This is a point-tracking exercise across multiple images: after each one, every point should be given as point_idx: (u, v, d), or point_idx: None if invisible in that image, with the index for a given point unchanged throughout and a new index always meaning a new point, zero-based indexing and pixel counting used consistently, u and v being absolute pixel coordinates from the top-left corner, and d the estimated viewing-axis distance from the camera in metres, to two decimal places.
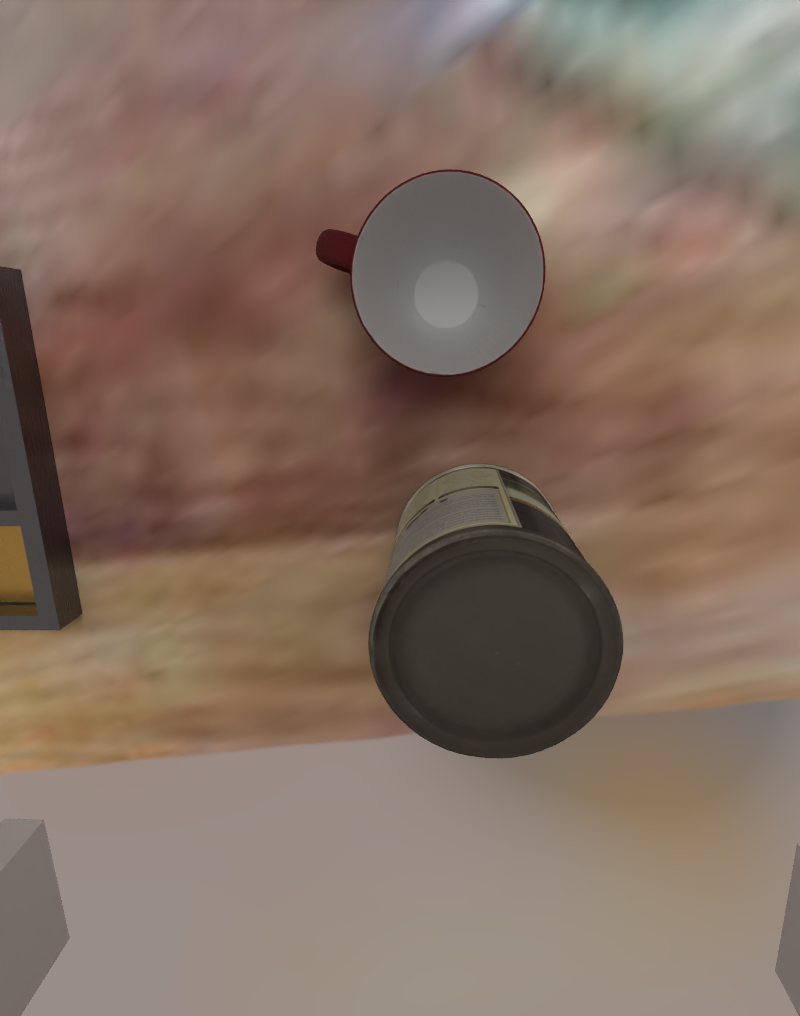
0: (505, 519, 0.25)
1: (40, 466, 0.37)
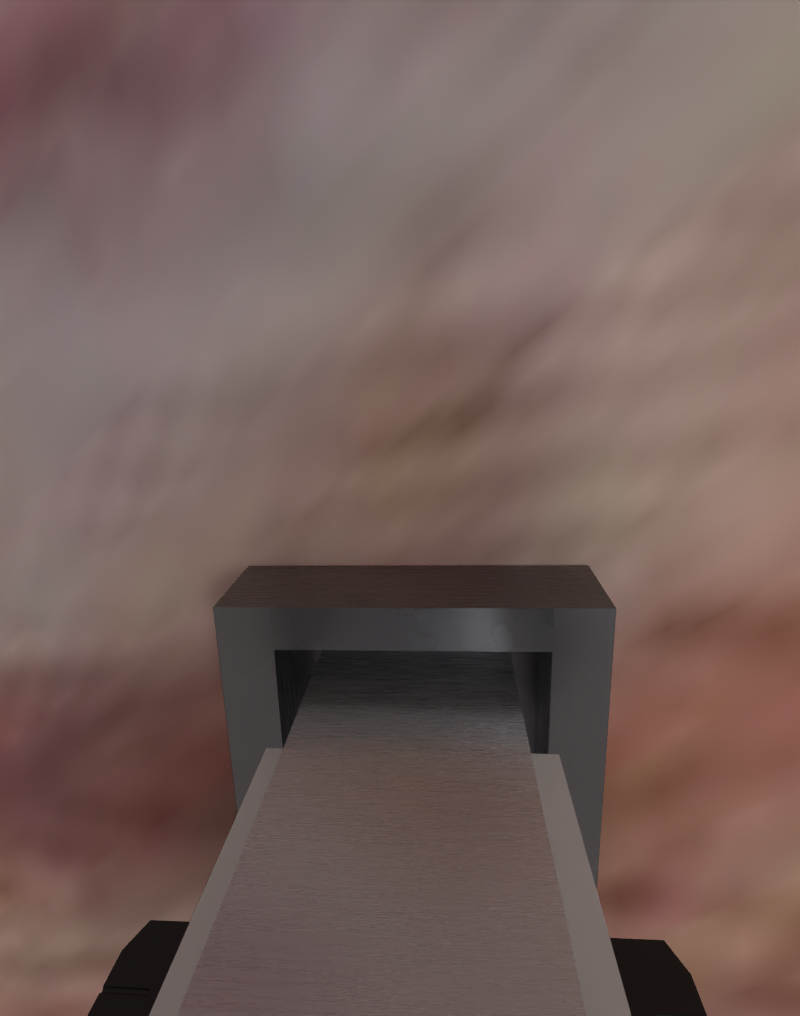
0: None
1: None
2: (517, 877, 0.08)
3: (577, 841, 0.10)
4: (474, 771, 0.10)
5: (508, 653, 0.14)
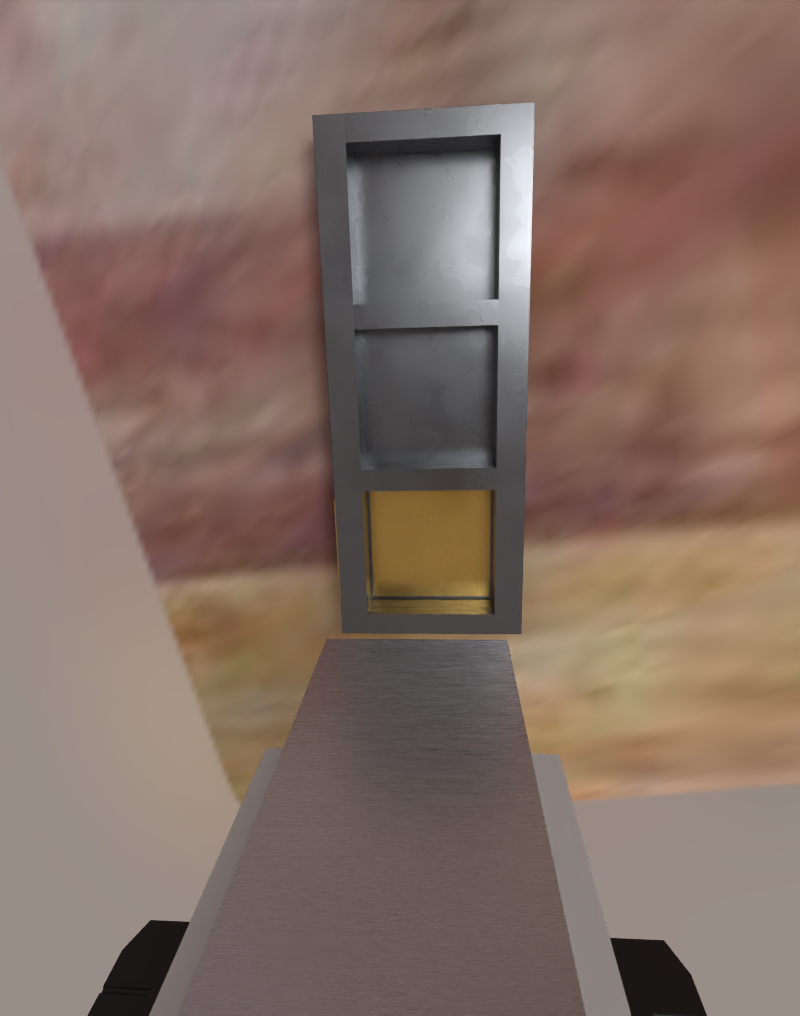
0: None
1: None
2: (517, 879, 0.08)
3: (577, 841, 0.10)
4: (474, 772, 0.10)
5: (508, 654, 0.14)
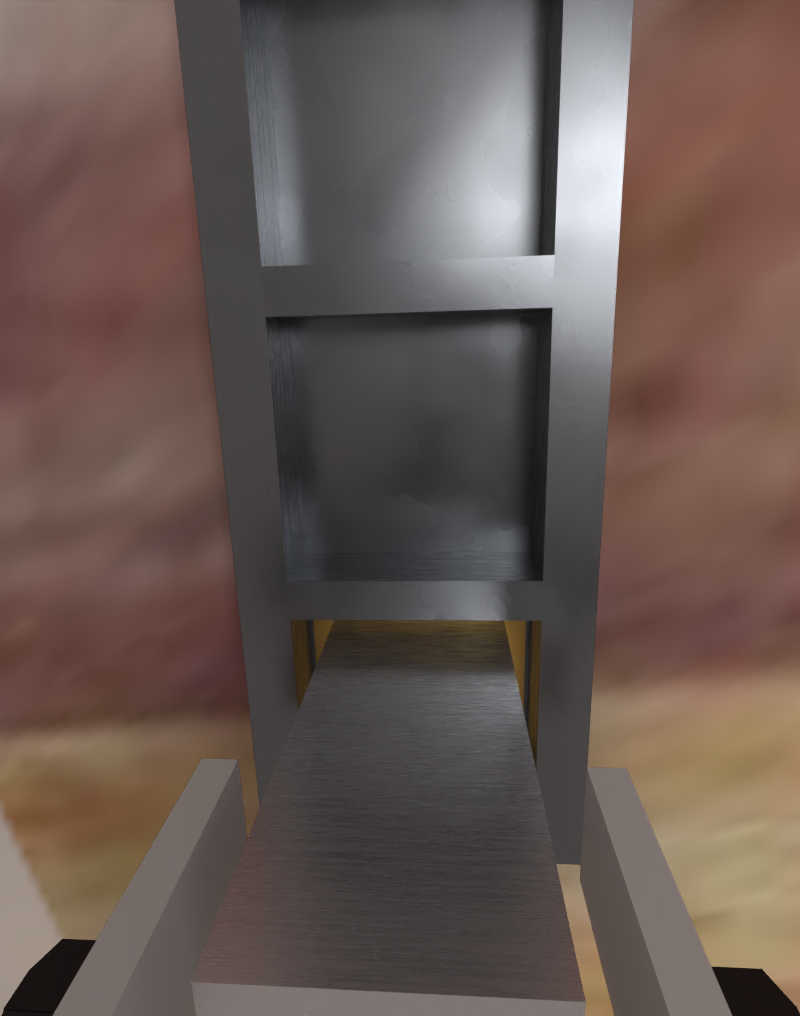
0: None
1: None
2: (507, 801, 0.10)
3: (660, 862, 0.10)
4: (472, 721, 0.12)
5: (503, 625, 0.16)
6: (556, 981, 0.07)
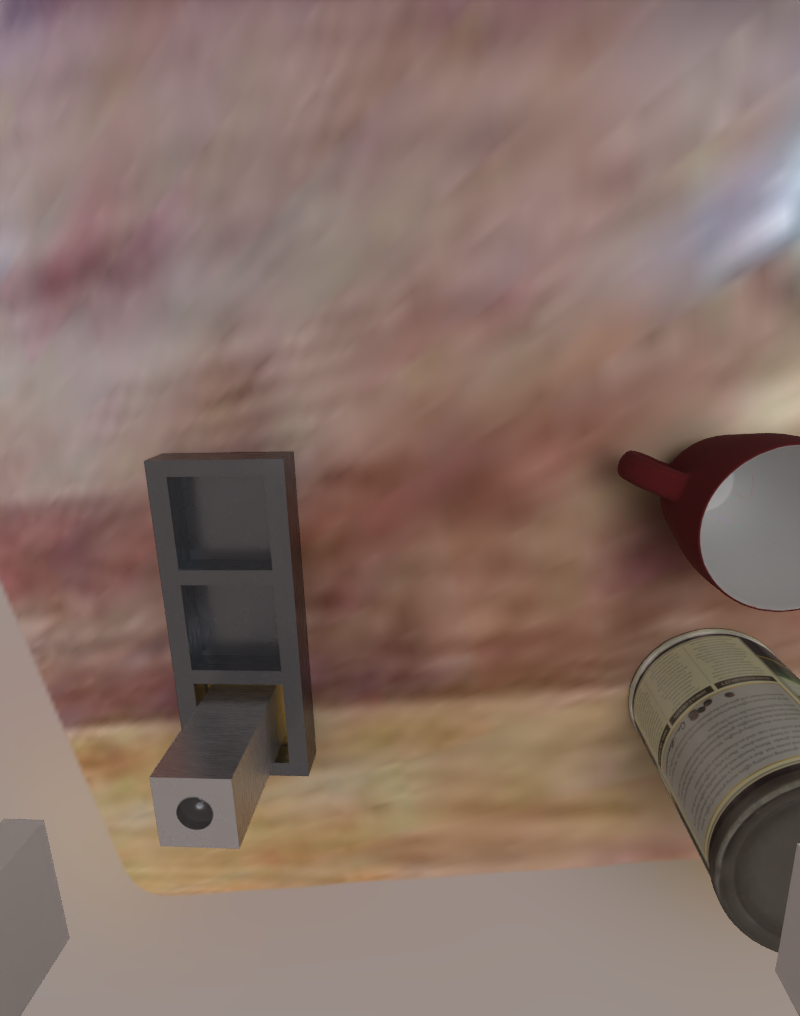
0: None
1: (301, 628, 0.40)
2: (239, 742, 0.35)
3: None
4: (243, 720, 0.37)
5: None
6: (227, 776, 0.33)
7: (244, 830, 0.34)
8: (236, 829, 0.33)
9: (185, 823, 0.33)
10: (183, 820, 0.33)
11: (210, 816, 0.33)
